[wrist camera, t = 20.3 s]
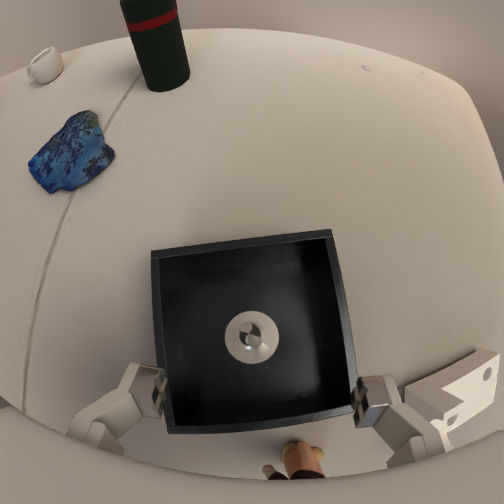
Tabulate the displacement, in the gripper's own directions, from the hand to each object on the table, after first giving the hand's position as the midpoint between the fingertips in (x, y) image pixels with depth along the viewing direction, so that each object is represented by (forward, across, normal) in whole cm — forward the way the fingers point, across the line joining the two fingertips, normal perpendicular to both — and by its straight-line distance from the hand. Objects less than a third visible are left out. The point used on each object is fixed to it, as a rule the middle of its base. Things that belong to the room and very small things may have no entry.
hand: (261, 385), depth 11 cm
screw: (+13, +1, +10) cm, 16 cm away
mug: (+50, +55, -27) cm, 79 cm away
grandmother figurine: (+5, -5, +19) cm, 20 cm away
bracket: (+8, -23, +16) cm, 29 cm away
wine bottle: (+42, +17, -18) cm, 49 cm away
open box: (+14, +1, +10) cm, 17 cm away
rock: (+30, +30, -6) cm, 43 cm away
